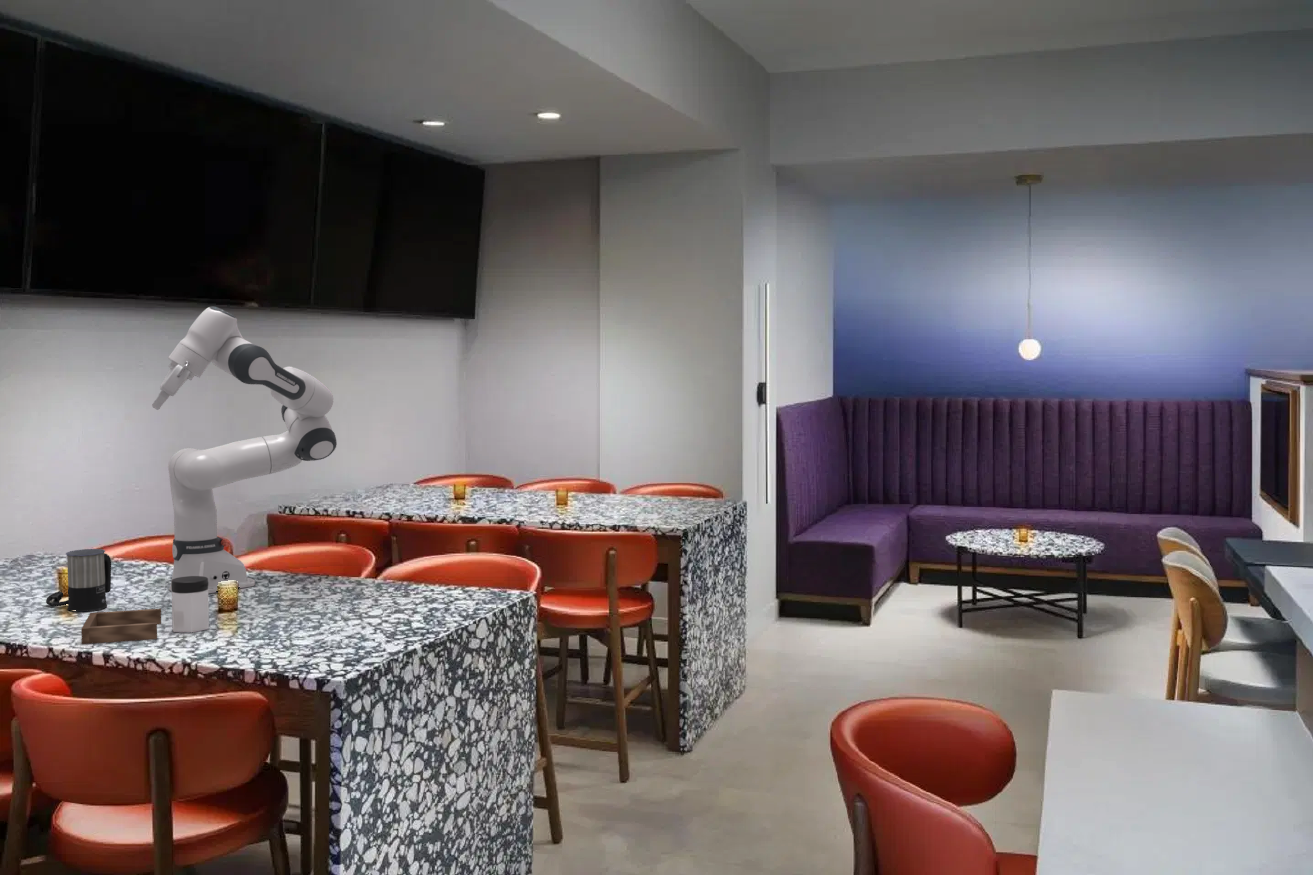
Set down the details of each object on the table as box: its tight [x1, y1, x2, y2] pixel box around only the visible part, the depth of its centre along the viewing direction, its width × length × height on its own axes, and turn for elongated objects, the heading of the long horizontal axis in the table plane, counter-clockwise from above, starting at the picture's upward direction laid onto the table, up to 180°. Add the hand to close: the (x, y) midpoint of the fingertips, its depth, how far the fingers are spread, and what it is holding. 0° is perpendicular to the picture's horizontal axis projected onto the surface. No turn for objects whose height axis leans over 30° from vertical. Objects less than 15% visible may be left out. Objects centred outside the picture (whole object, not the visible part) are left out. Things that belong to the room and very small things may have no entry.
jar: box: [170, 576, 210, 634], centre depth 272 cm, size 9×8×12 cm
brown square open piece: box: [80, 608, 162, 645], centre depth 268 cm, size 16×17×4 cm
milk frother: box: [45, 548, 112, 612], centre depth 294 cm, size 14×16×15 cm
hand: (154, 408), depth 285 cm, fingers open, 8 cm apart
